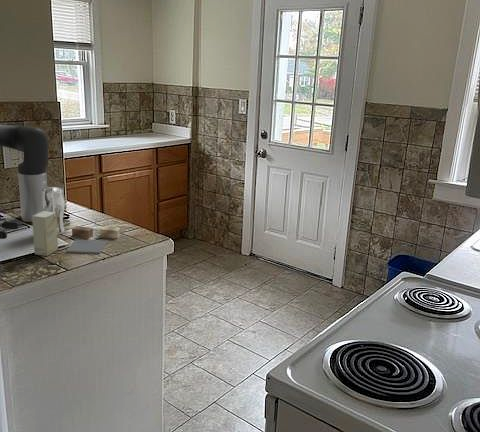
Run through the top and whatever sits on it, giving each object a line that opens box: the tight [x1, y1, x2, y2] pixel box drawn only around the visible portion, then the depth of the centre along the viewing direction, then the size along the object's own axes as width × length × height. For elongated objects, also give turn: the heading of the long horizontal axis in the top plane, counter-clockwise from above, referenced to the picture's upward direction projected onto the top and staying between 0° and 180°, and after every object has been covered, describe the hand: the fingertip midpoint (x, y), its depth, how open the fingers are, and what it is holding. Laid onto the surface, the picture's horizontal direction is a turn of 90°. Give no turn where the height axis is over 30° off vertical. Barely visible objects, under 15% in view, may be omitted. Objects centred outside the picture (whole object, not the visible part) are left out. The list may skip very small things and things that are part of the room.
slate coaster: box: [66, 238, 107, 255], centre depth 153 cm, size 10×10×1 cm
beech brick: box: [99, 225, 121, 240], centre depth 163 cm, size 6×3×3 cm, turn 85°
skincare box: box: [31, 211, 59, 257], centre depth 146 cm, size 6×4×12 cm
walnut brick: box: [71, 225, 94, 240], centre depth 162 cm, size 6×3×3 cm, turn 79°
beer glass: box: [42, 186, 66, 235], centre depth 162 cm, size 7×7×15 cm
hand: (12, 230), depth 145 cm, fingers open, 8 cm apart
